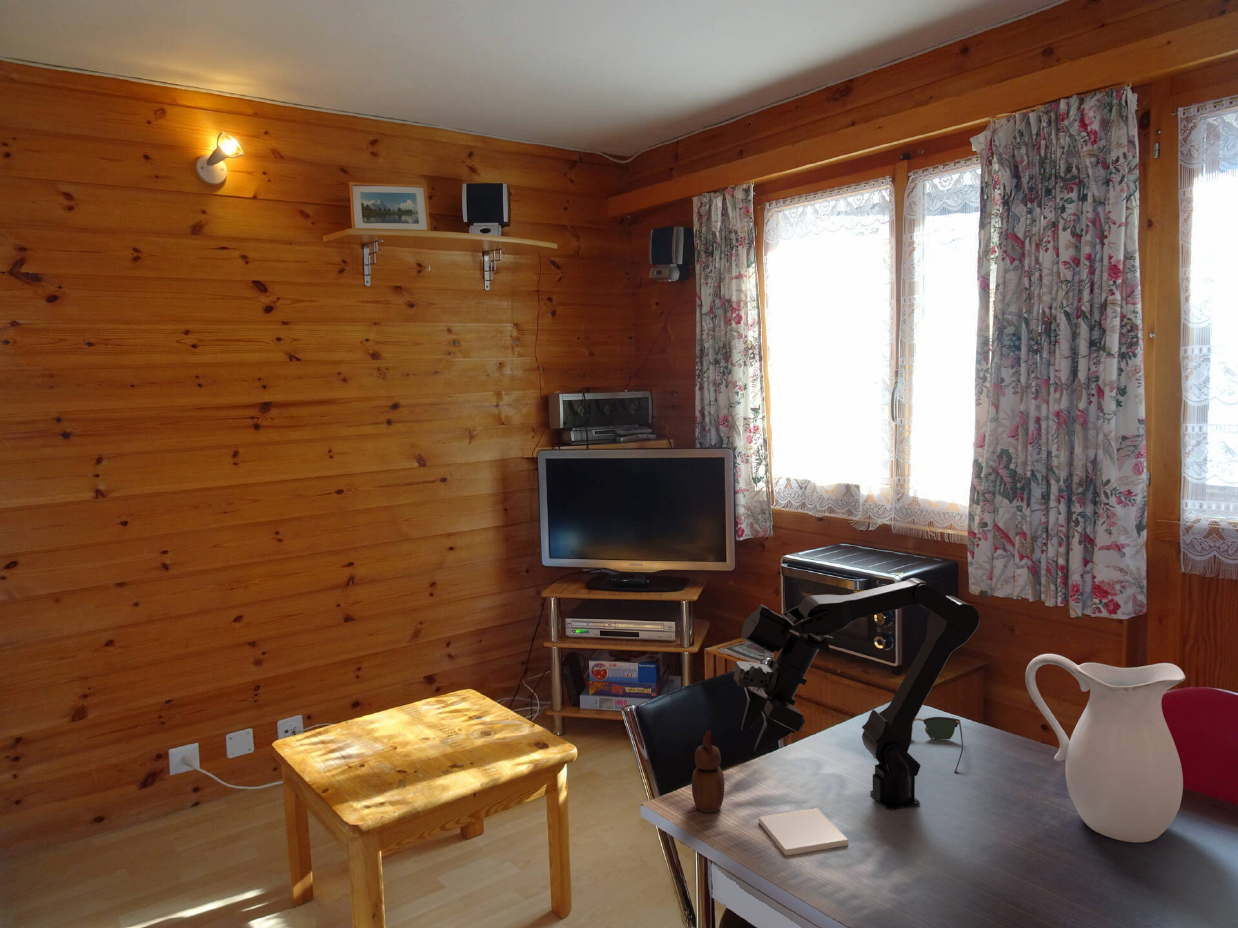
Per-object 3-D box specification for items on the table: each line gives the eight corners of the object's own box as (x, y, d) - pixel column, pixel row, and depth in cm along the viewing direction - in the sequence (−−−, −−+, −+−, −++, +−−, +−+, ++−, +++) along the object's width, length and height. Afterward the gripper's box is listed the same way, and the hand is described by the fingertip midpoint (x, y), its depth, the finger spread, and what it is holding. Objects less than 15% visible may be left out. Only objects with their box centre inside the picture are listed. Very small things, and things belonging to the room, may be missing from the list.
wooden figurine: (723, 817, 152) (721, 735, 151) (690, 815, 153) (688, 733, 152) (726, 799, 159) (725, 720, 158) (694, 797, 160) (693, 718, 159)
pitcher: (1190, 822, 147) (1196, 662, 144) (1168, 865, 134) (1174, 690, 132) (1040, 781, 163) (1042, 636, 160) (1007, 815, 151) (1010, 658, 148)
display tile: (817, 813, 153) (817, 807, 153) (848, 844, 142) (848, 839, 142) (758, 822, 150) (758, 816, 150) (785, 855, 140) (785, 849, 140)
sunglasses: (882, 770, 170) (882, 745, 170) (877, 735, 186) (877, 712, 186) (972, 776, 166) (973, 751, 166) (959, 740, 183) (959, 717, 182)
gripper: (739, 628, 161) (700, 702, 162) (766, 660, 143) (722, 743, 143) (791, 654, 162) (751, 727, 163) (824, 689, 144) (779, 771, 145)
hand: (749, 741), depth 153 cm, fingers open, 9 cm apart
